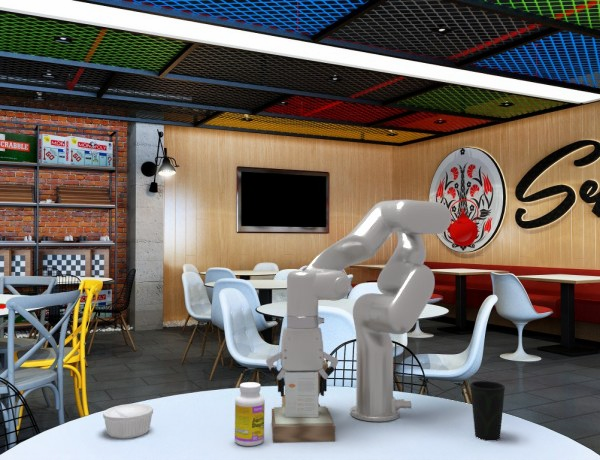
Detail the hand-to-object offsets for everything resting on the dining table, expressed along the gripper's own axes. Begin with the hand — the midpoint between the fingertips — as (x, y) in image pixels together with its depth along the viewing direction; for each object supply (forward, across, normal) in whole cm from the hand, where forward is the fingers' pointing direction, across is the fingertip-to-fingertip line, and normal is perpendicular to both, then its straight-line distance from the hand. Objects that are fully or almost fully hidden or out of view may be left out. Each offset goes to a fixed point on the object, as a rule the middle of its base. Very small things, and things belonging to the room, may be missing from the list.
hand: (302, 394), depth 137 cm
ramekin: (+9, +41, -2) cm, 42 cm away
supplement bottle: (+9, +12, +6) cm, 17 cm away
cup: (+9, -43, +6) cm, 44 cm away
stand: (+9, 0, 0) cm, 9 cm away
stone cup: (+9, -2, -16) cm, 18 cm away
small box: (+5, 0, 0) cm, 5 cm away
